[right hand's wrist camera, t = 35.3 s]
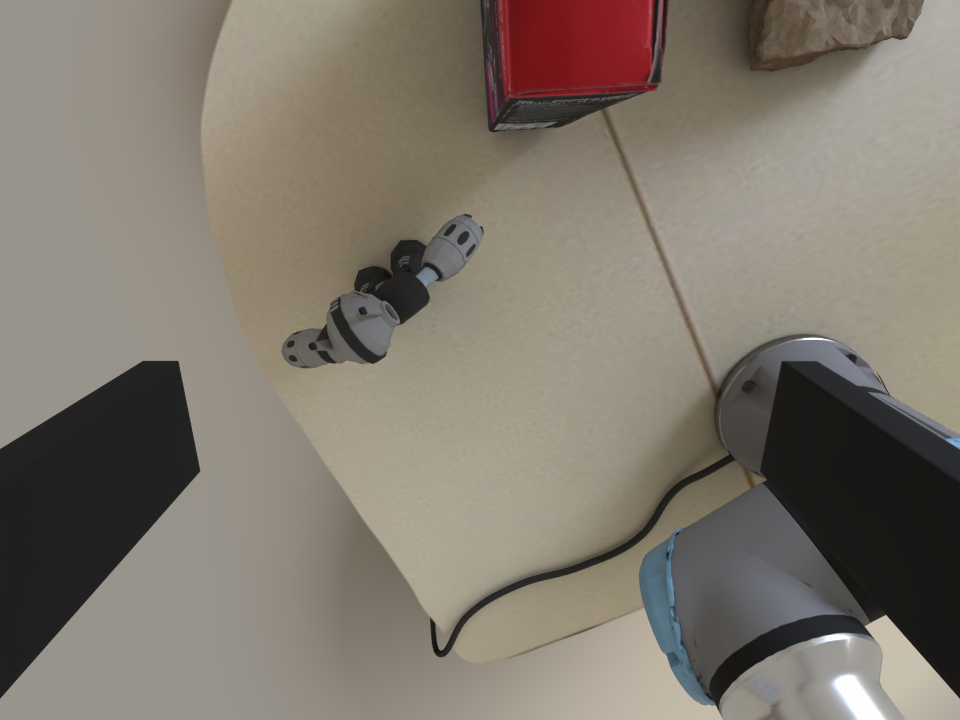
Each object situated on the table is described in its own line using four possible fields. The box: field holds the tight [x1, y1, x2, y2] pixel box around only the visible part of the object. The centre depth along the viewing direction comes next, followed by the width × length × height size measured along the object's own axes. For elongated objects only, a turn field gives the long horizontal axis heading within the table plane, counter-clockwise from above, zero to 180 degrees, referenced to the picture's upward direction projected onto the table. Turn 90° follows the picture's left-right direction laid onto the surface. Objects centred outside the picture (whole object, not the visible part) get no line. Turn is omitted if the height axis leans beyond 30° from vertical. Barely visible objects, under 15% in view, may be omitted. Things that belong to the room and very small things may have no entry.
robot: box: [282, 214, 484, 368], centre depth 43 cm, size 20×5×20 cm, turn 125°
